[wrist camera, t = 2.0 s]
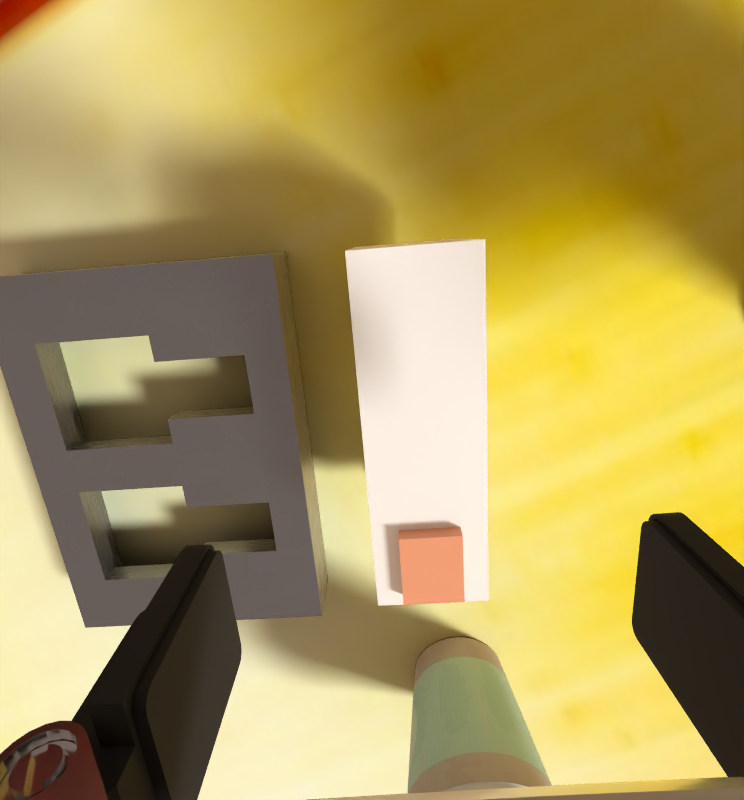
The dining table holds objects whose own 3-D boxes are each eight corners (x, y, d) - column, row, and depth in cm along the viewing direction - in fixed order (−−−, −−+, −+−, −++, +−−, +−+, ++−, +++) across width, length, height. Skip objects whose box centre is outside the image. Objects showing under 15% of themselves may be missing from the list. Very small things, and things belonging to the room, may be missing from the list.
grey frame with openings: (285, 251, 25) (272, 253, 22) (327, 578, 31) (322, 615, 28) (20, 274, 26) (-28, 279, 23) (113, 590, 32) (85, 627, 29)
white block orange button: (447, 238, 25) (489, 239, 15) (455, 486, 29) (491, 610, 20) (358, 245, 25) (343, 251, 15) (379, 491, 29) (378, 616, 20)
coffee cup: (377, 638, 33) (374, 851, 21) (503, 605, 32) (570, 811, 20) (416, 728, 35) (432, 963, 24) (534, 701, 34) (609, 932, 23)
